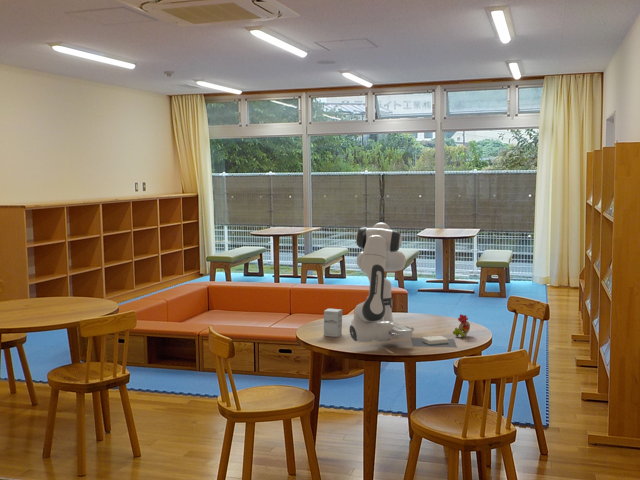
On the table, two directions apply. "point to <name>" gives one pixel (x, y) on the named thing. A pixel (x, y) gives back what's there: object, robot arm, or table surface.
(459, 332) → the bird rattle
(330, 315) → the supplement box
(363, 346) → the table surface
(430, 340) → the tile
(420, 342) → the rubber mat
